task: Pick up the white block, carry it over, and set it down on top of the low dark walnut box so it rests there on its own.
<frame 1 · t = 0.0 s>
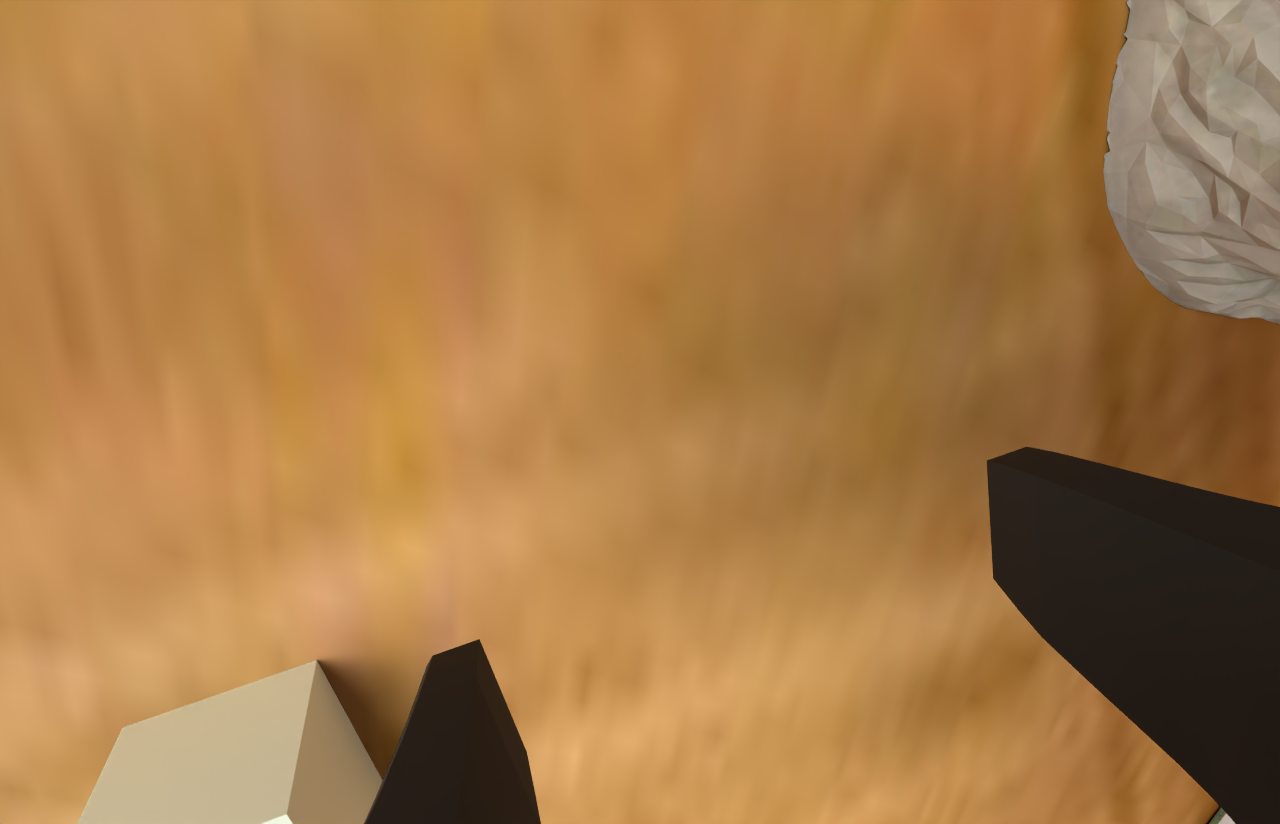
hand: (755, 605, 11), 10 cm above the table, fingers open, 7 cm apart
white block: (263, 757, 22), on the table
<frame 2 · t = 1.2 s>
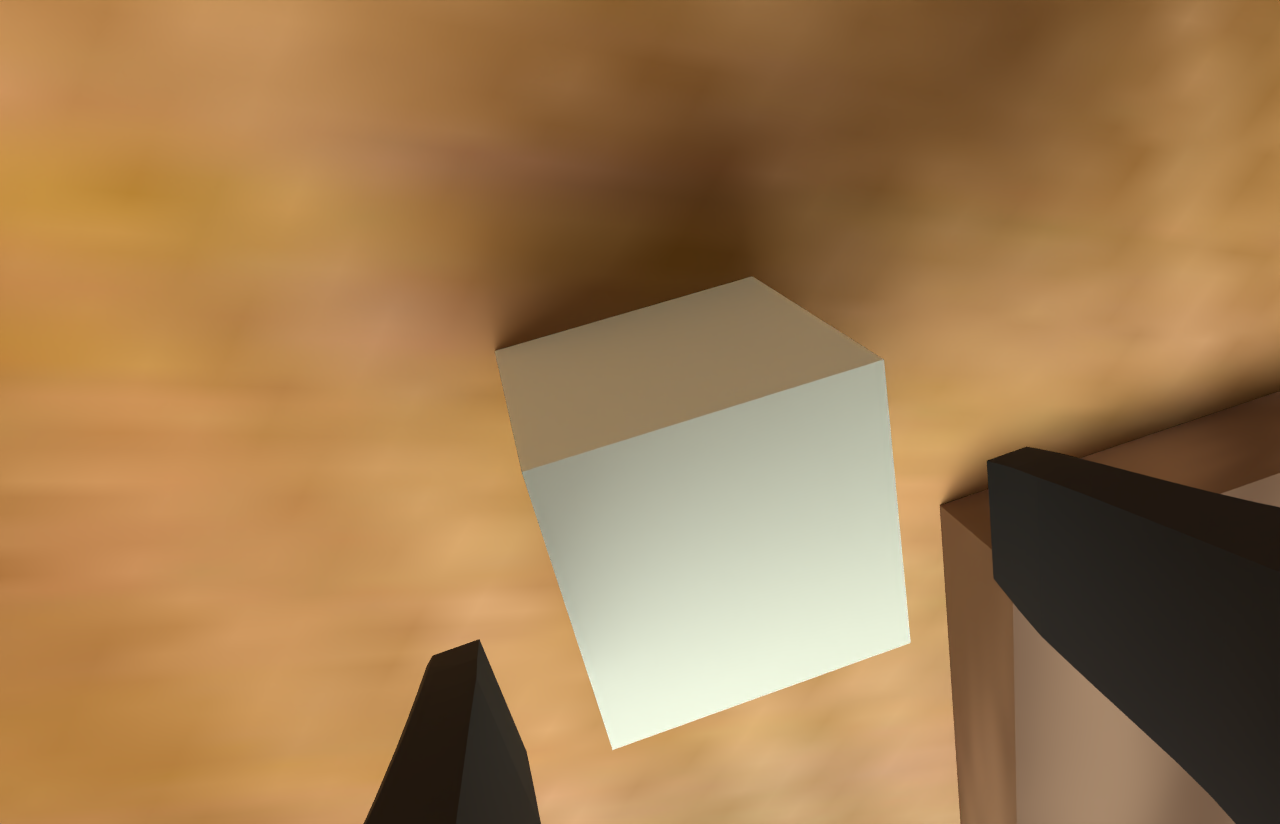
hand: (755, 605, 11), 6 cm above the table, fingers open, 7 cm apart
walnut box: (1139, 612, 22), on the table
white block: (653, 428, 16), on the table
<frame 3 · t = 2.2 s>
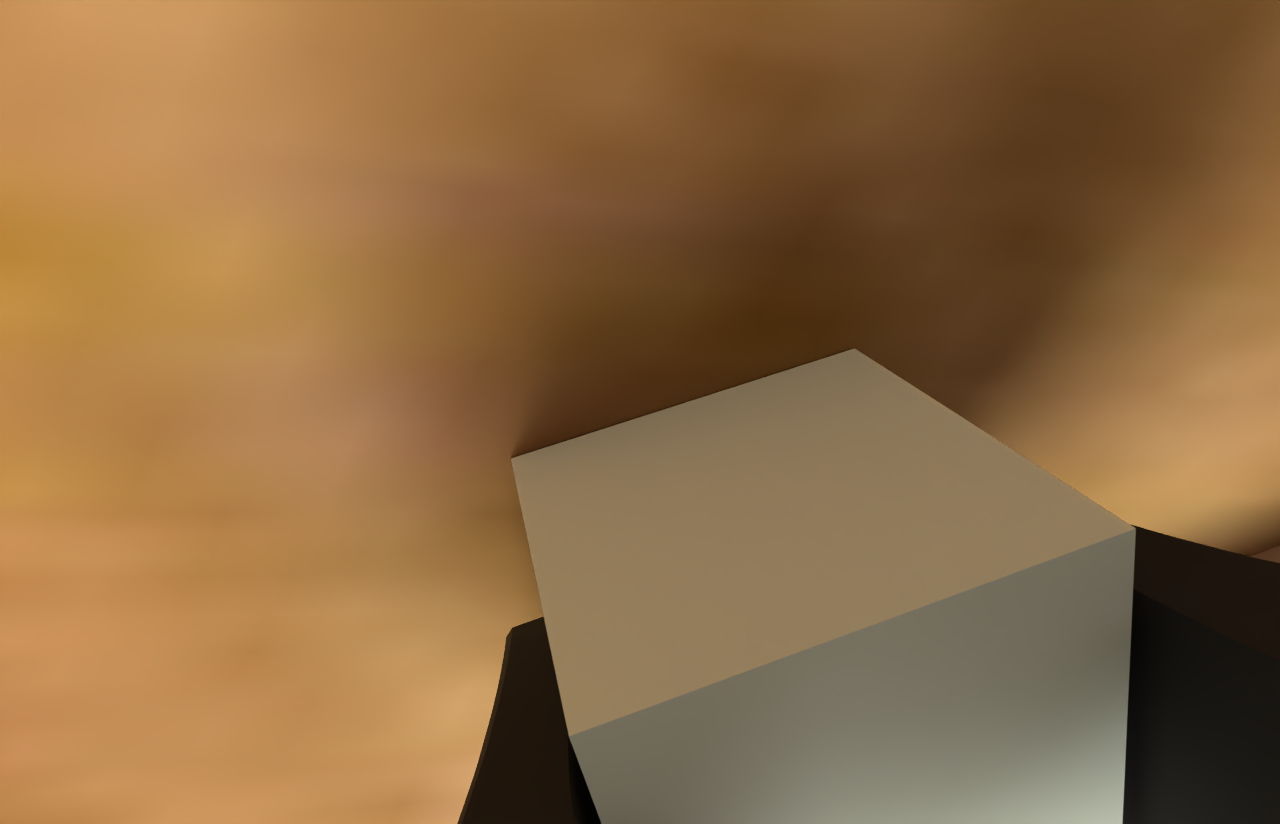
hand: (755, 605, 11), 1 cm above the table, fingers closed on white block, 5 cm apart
white block: (720, 549, 12), on the table, touching gripper
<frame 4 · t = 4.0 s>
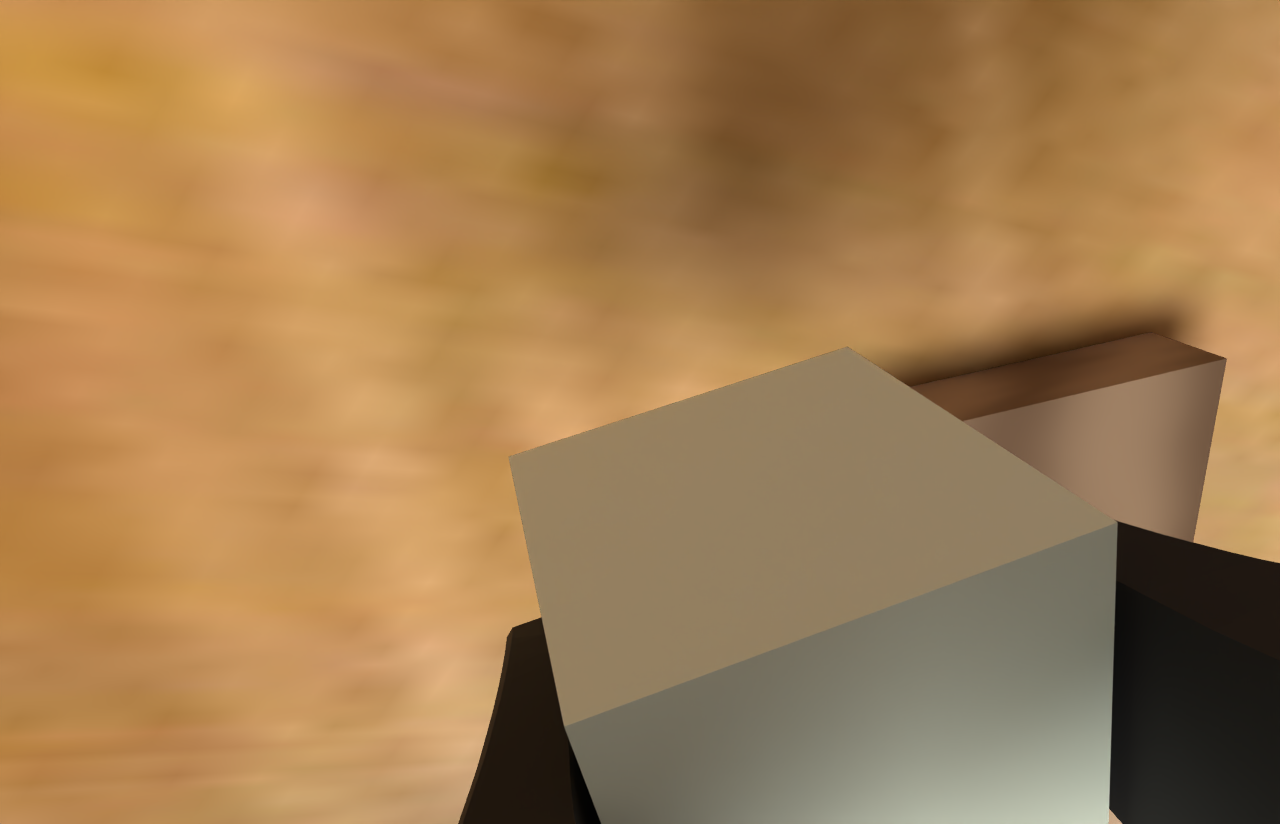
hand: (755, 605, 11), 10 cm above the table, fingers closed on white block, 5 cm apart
walnut box: (953, 540, 26), on the table
white block: (716, 545, 12), point 9 cm above the table, touching gripper
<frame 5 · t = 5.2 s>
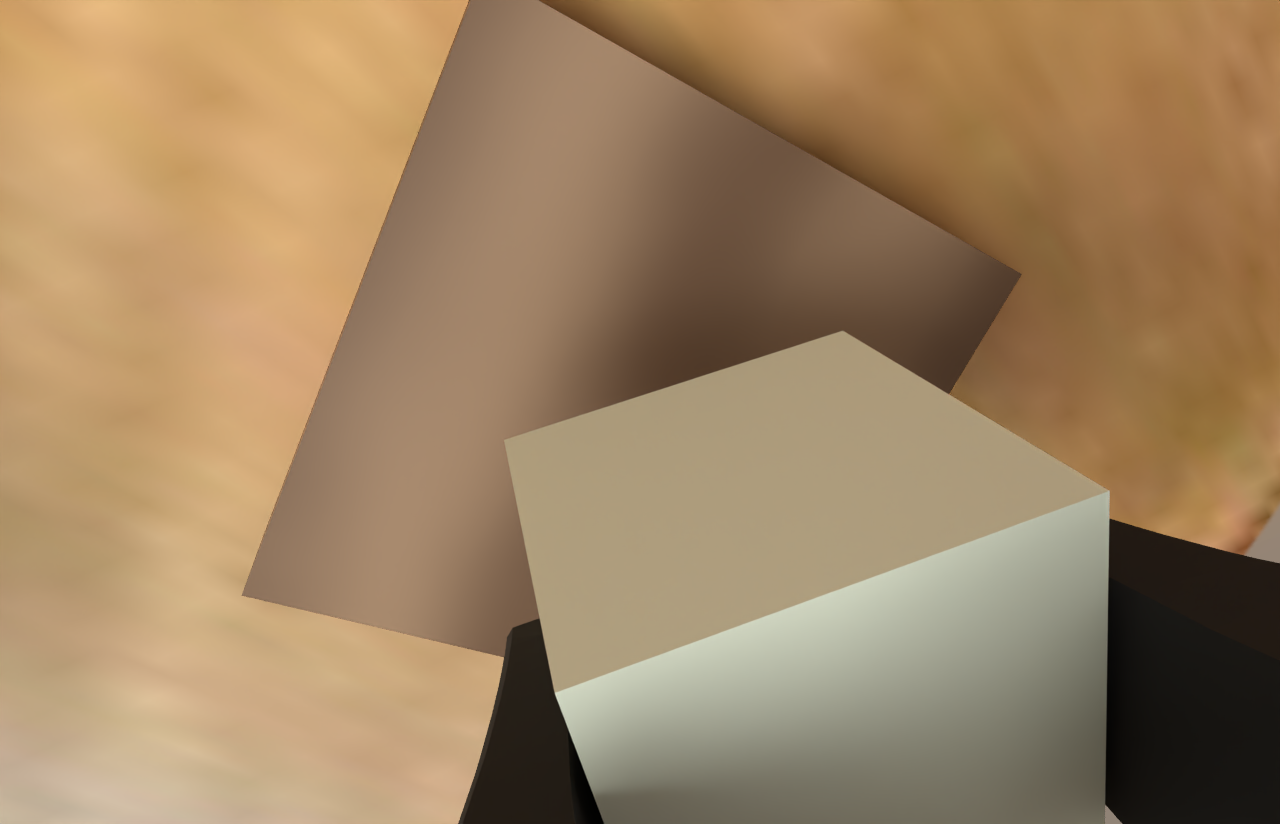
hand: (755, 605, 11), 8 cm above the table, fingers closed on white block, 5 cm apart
walnut box: (617, 377, 19), on the table
white block: (713, 530, 12), point 7 cm above the table, touching gripper
when the fingers open (6 cm above the table, at t = 6.1 s): white block drops 2 cm, resting on walnut box.
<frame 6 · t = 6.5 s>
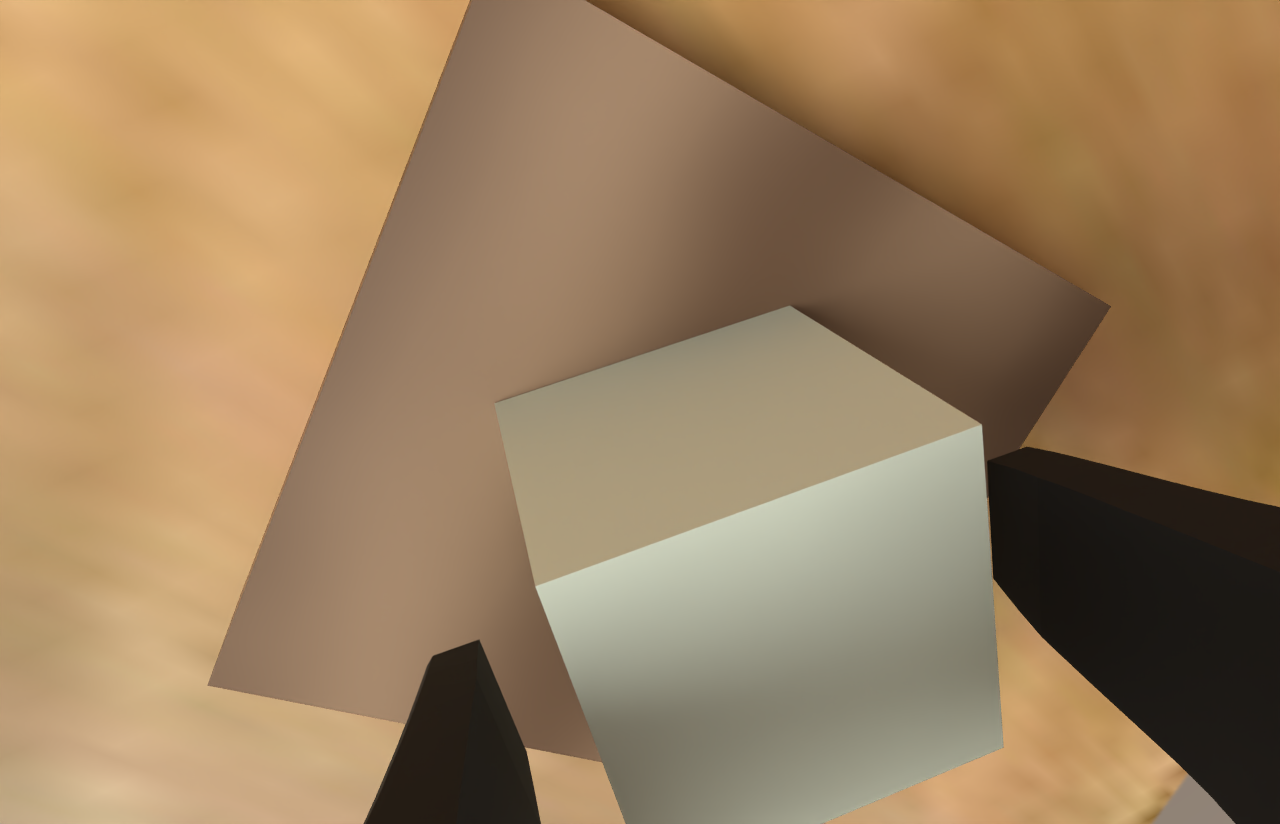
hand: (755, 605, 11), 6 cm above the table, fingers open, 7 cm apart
walnut box: (641, 419, 17), on the table, touching white block
white block: (680, 484, 14), point 2 cm above the table, touching walnut box
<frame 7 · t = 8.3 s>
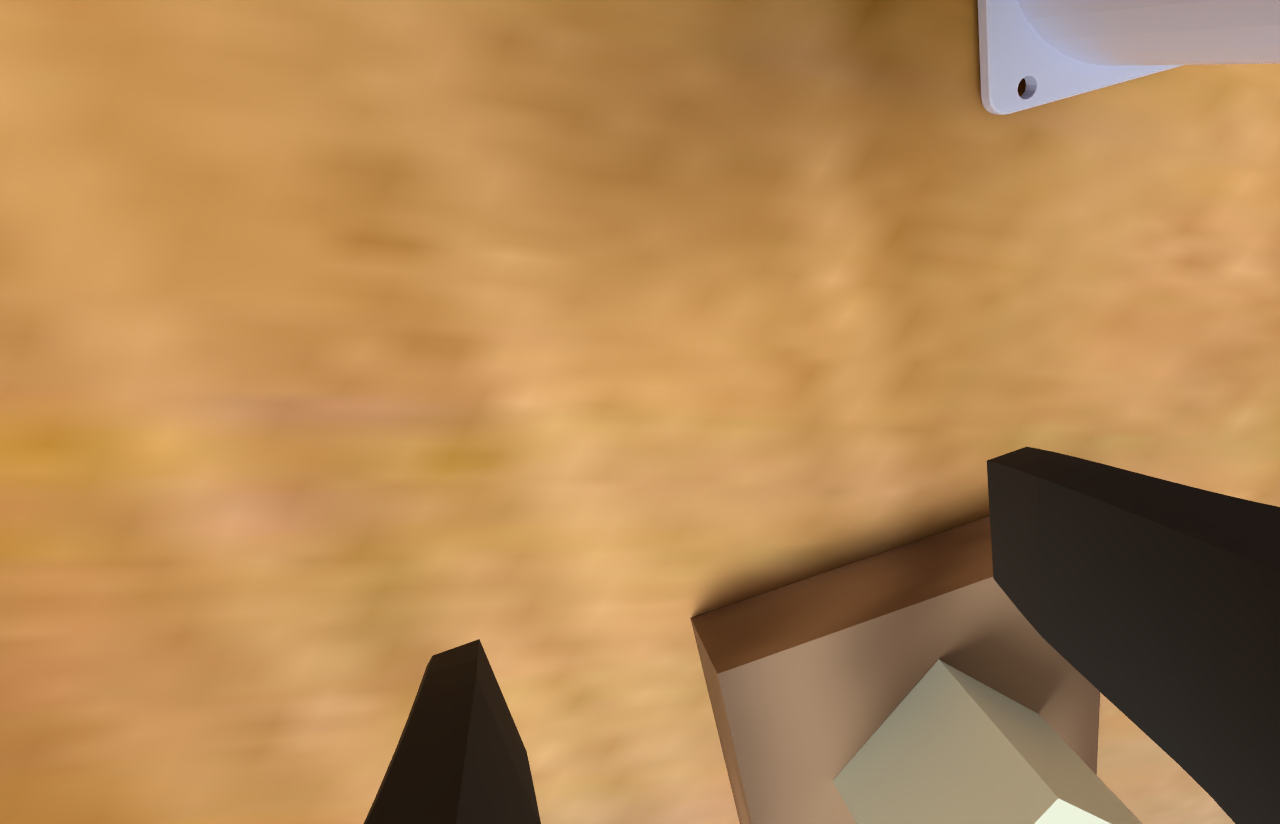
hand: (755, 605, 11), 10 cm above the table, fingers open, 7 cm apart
walnut box: (882, 687, 28), on the table, touching white block
white block: (937, 746, 25), point 2 cm above the table, touching walnut box
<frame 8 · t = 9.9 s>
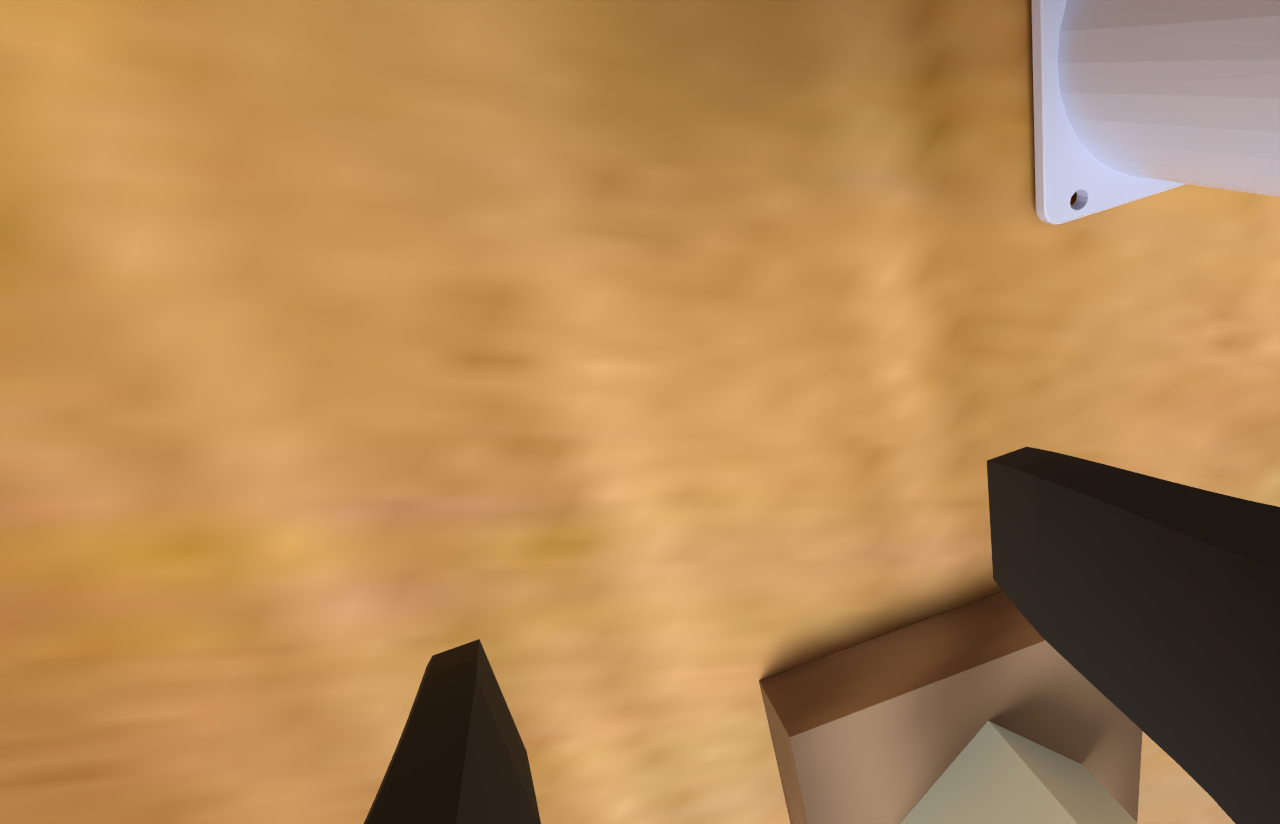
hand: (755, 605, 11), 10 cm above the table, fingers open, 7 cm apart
walnut box: (932, 735, 29), on the table
white block: (988, 798, 27), point 2 cm above the table
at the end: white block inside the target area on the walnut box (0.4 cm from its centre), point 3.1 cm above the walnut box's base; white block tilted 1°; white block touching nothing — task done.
